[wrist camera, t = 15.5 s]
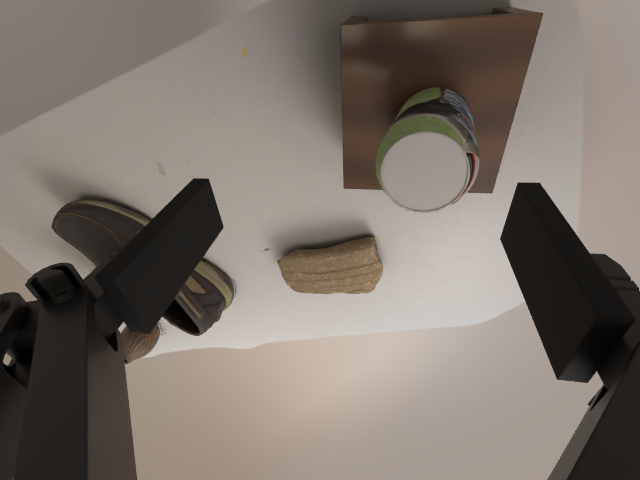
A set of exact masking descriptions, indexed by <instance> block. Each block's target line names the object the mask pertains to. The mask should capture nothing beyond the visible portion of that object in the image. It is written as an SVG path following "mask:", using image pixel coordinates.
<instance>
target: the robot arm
mask: <svg viewBox="0 0 640 480" xmlns="http://www.w3.org/2000/svg"><path fill="white" fill-rule="evenodd" d="M223 228H224V227H223V223H222V220H221V217H220V214H219V210H218V207H217V204H216V201H215V198H214V194H213V191H212V188H211V185H210V181H209V179H193V180H192V181H191V182H190V183H189V184H188V185H187V186H186V187H184V188H183V189H182V190H181V191H180V192H179V193H178V194H177V195H176V196H175V197H174V198H173V199H172V200H171V201H170V202H169V203H168V204H167V205H166V206H165V207H164V208H163V209H162V210H161V211H160V212H159V213H158V214H157V215H156V216H155V217H154V218H153V219H152V220H151V221H150V222H149V223H148V224H147V225H146V226H145V227H144V228H143V229H142V230H141V231H140V232H139V233H136V234H134V235H133V236H131V237H129V238H128V239H126V240H124V241H123V242H122V243H121V244H120V245H119V246H118V247H117V248H116V251H113V252H112V253H111V254H110V255H109V256H108V258H106V259H105V260H104V261H103V262H102V263H100V264H99V265H98V266H97V267H96V268H95V269H94V270H93V271H92V272H91V273H90V274H89V275H88V276H87V277H86V278H85V279H84V280H83V279H82V278H81V276H80V275H79V273H78V272H77V271H76V269H75V268H74V266H73V265H72V264H69V263H58V264H54V265H51V266H48V267H46V268H44V269H42V270H40V271H39V272H37V273H35V274H34V275H33V276H32V277H31V278H30V279H28V281H27V283H26V285H25V286H26V287H27V288H28V289H29V290H30V292H31V293H32V294H33V295H34V296H35V297H36V298H37V300H36V301H30V302H26V301H25V300H24V299H23V298H22V297H21V295H20V294H19V293H14V292H10V293H4V294H1V295H0V480H13V478H14V480H137V475H136V465H135V456H134V446H133V437H132V429H131V418H130V409H129V400H128V391H127V381H126V372H125V362H124V353H123V344H122V335H121V333H120V331H119V330H118V328H119V327H120V325H121V324H122V323H123V322H125V324H126V325H127V327H128V328H129V330H130V331H131V332H136V333H145V334H150V333H151V331H152V330H153V328H154V327H155V326H156V324H157V323H158V321H159V320H160V318H161V317H162V315H163V314H164V313H165V311H166V310H167V308H168V307H169V305H170V304H171V302H172V301H173V300H174V298H175V297H176V295H177V294H178V292H179V291H180V290H181V288H182V287H183V285H184V284H185V282H186V281H187V279H188V278H189V277H190V275H191V274H192V272H193V271H194V269H195V268H196V266H197V265H198V264H199V262H200V261H201V259H202V258H203V256H204V255H205V253H206V252H207V251H208V249H209V248H210V246H211V245H212V243H213V242H214V240H215V239H216V238H217V236H218V235H219V233H220V232H221V230H222V229H223ZM500 239H501V242H502V244H503V247H504V249H505V252H506V254H507V257H508V259H509V262H510V264H511V267H512V269H513V272H514V274H515V277H516V279H517V282H518V284H519V286H520V289H521V291H522V294H523V296H524V299H525V301H526V304H527V306H528V309H529V311H530V314H531V316H532V319H533V321H534V324H535V326H536V328H537V331H538V333H539V336H540V338H541V340H542V343H543V346H544V348H545V351H546V353H547V356H548V358H549V360H550V363H551V366H552V368H553V370H554V373H555V375H556V378H557V379H558V380H567V381H575V382H584V383H588V382H589V380H590V379H591V378H592V376H593V375H594V374H595V372H596V371H598V374H599V376H600V378H601V380H602V381H603V384H604V385H603V386H602V388H601V389H600V390H599V391H598V392H597V394H596V395H595V396H594V397H593V398H592V399H591V401H590V402H589V403H588V405H589V406H590V407H589V409H588V410H587V412H586V414H585V415H584V417H583V419H582V421H581V422H580V424H579V426H578V428H577V430H576V431H575V433H574V435H573V436H572V438H571V440H570V442H569V443H568V445H567V447H566V448H565V450H564V452H563V454H562V455H561V457H560V459H559V460H558V462H557V464H556V466H555V467H554V469H553V471H552V473H551V475H550V476H549V478H548V480H640V291H639V288H638V287H637V285H636V284H635V283H634V281H631V278H630V276H629V275H628V274H627V273H626V271H625V270H624V269H623V267H622V266H621V265H619V264H618V263H617V262H615V261H614V260H612V259H611V258H609V257H608V256H607V255H605V254H590V253H589V252H588V250H587V249H586V248H585V246H584V245H583V243H582V242H581V241H580V239H579V238H578V236H577V235H576V233H575V232H574V231H573V229H572V228H571V226H570V225H569V224H568V222H567V221H566V219H565V218H564V217H563V215H562V214H561V212H560V211H559V209H558V208H557V207H556V205H555V204H554V202H553V201H552V200H551V198H550V197H549V195H548V194H547V193H546V191H545V190H544V188H543V187H542V186H541V184H540V183H518V184H517V187H516V190H515V193H514V197H513V200H512V203H511V206H510V209H509V213H508V216H507V219H506V222H505V225H504V228H503V232H502V235H501V238H500ZM6 353H7V354H8V355H9V356H10V357H11V358H12V360H11V362H10V364H9V365H8V366H7V365H5V364H4V363H3V359H4V355H5V354H6Z"/></svg>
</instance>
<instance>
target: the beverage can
mask: <svg viewBox="0 0 640 480" xmlns="http://www.w3.org/2000/svg"><path fill="white" fill-rule="evenodd" d="M479 162H480V156H479V150H478V144H477V139H476V133H475V128H474V122H473V117H472V111H471V109H470V106H469V104H468V103H467V101H466V100H465V99H464V98H463V97H462V96H461V95H460V94H458V93H457V92H455V91H453V90H451V89H448V88H442V87H433V88H428V89H425V90H422V91H420V92H418V93H416V94H414V95H413V96H412V97H411V98H409V99H408V100H407V101H406V103H405V104H404V105H403V107H402V108H401V110H400V111H399V113H398V115H397V116H396V118H395V120H394V122H393V123H392V125H391V127H390V128H389V130H388V132H387V134H386V135H385V137H384V139H383V140H382V142H381V144H380V147H379V149H378V152H377V156H376V174H377V178H378V181H379V184H380V185H381V187H382V189H383V191H384V192H385V193H386V194H387V196H388V197H389V198H390V199H391V200H392V201H393V202H394V203H395V204H397V205H398V206H400V207H402V208H404V209H406V210H409V211H413V212H419V213H429V212H435V211H438V210H441V209H444V208H446V207H448V206H449V205H451V204H453V203H455V202H456V201H458V200H459V199H460V198H462V197H463V196H464V195H465V194H466V193H467V192H468V191H469V189H470V188H471V186H472V185H473V183H474V181H475V179H476V177H477V174H478V170H479Z"/></svg>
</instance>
